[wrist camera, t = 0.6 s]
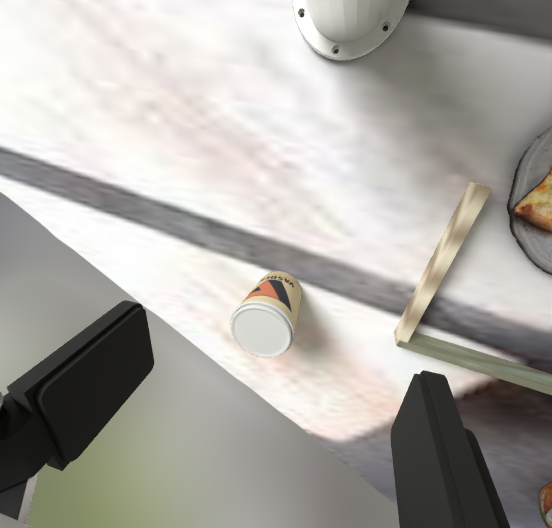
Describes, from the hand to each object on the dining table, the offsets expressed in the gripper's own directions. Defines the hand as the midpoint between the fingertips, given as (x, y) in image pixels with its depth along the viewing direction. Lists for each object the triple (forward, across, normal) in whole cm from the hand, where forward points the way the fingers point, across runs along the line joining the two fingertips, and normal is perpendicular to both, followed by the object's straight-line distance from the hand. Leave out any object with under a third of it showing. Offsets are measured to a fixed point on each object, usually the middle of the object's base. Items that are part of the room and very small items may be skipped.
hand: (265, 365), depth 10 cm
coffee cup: (+35, +6, +19) cm, 40 cm away
